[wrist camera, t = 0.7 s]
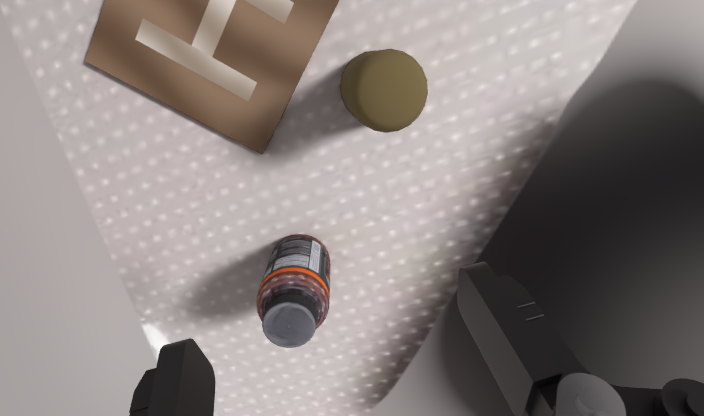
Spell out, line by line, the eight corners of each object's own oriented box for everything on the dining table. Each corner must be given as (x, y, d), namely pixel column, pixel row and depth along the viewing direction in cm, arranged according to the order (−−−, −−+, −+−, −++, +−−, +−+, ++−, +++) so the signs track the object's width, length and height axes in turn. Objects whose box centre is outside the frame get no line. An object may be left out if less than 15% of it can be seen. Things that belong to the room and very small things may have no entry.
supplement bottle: (326, 287, 40) (323, 364, 30) (269, 281, 40) (245, 356, 29) (334, 235, 38) (334, 297, 28) (274, 228, 38) (250, 288, 27)
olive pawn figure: (339, 121, 35) (341, 141, 24) (340, 49, 33) (342, 38, 22) (405, 122, 35) (435, 143, 25) (410, 51, 33) (444, 41, 23)
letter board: (157, -143, 28) (153, -148, 27) (348, -19, 31) (348, -20, 31) (89, 61, 32) (84, 60, 32) (263, 152, 35) (262, 154, 35)
